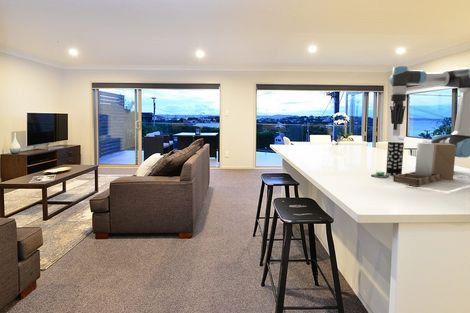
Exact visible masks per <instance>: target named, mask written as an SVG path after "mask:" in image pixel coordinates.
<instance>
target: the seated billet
mask: <svg viewBox="0 0 470 313" xmlns="http://www.w3.org/2000/svg"><path fill="white" fill-rule="evenodd" d="M433 152H434V143H431V142H417V143H416V155H415V156H416V157H415V158H416V159H415V171H414V172H415V175H422V176H432V165H433Z"/></svg>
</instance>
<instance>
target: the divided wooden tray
mask: <svg viewBox="0 0 470 313" xmlns="http://www.w3.org/2000/svg"><path fill="white" fill-rule="evenodd" d="M392 181H393V182H396V183H401V184H402V183H403V184H406V186H408V187H413V188H420V187H421V186H424V185H428V184H431V183H436V182H440V181H442V180H441V174H434V173H432V176H422V175H415V171H410V172H405V173H402V174H400V175H395V176H393V179H392Z"/></svg>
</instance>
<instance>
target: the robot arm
mask: <svg viewBox="0 0 470 313" xmlns="http://www.w3.org/2000/svg"><path fill="white" fill-rule="evenodd" d="M389 84H390V85H391V95H390V97H391V101H392V102H393V103H392V105H390V106H389V109H390V123H391V124H392V125H393V129H392V136H395V137H397V136H401V125H403V122H404V118H405V110H406V105H404V102H405V101H406V100H407V86H439V87H443V88H444V87H445V88H446V87H447V88H448V87H449V88H457V90H458V92H460V93H459V100H458V105H457V112H456V117H455V124H454V130H453V132H452V133H450V134H439V135H433V136H432V137H431V141H430V143H448V144H453V145H456V150H455V158H463V159H464V158H469V157H470V66H467V67H461V68H460V67H459V68H455V69H451V70H443V71H442V70H441V71H440V72H426V71H424V70H420V69H419V70H418V69H417V70H415V69H414V70H413V69H412V70H411V69H408V66H407V65H398V66H397V65H396V66H393V68H392V74H391V75H390V77H389ZM391 101H390V102H391Z"/></svg>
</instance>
